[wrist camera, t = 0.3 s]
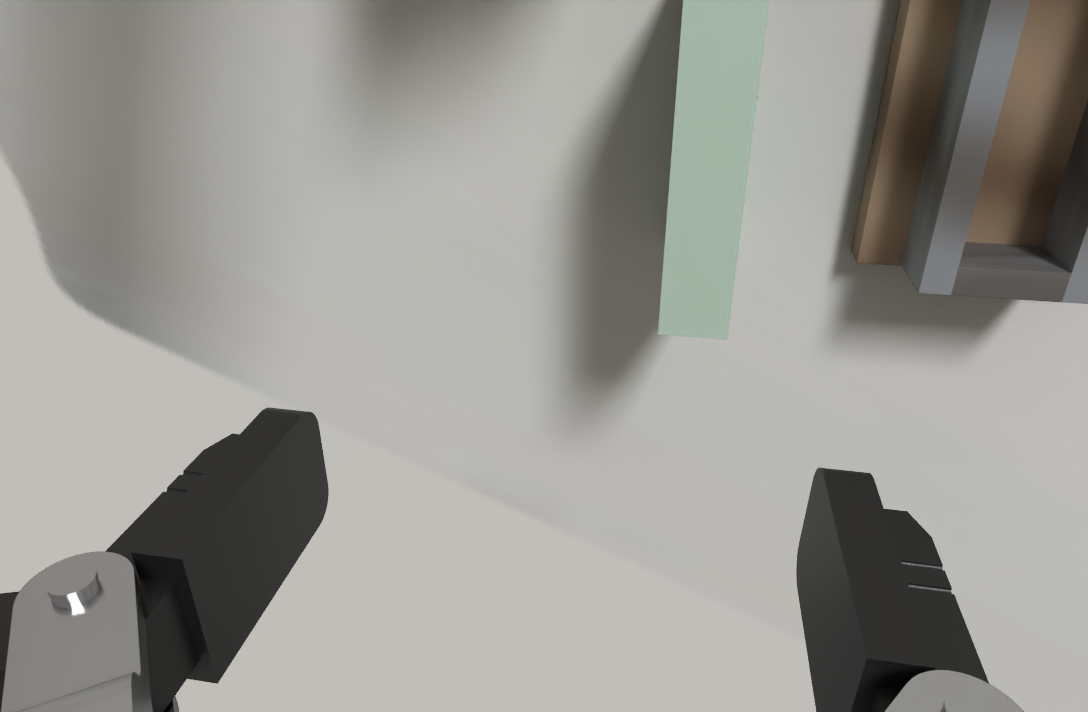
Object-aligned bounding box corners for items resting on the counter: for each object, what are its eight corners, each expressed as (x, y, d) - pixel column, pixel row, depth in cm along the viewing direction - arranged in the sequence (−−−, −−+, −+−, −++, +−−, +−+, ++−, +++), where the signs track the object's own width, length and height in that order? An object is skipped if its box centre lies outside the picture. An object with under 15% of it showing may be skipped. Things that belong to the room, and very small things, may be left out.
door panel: (689, -51, 30) (686, -49, 22) (757, -52, 30) (782, -49, 21) (667, 239, 36) (657, 334, 27) (723, 242, 36) (733, 339, 27)
